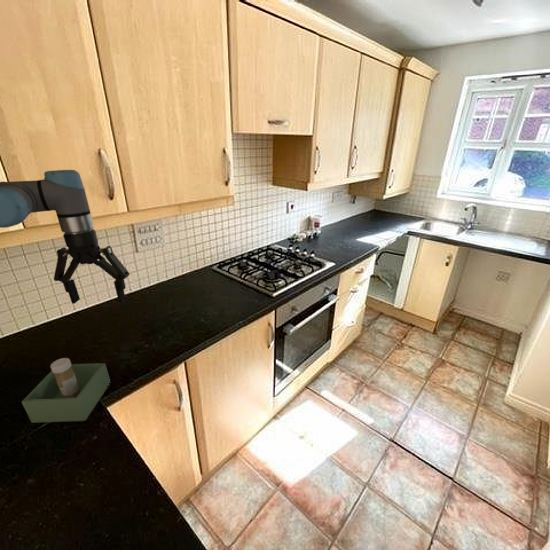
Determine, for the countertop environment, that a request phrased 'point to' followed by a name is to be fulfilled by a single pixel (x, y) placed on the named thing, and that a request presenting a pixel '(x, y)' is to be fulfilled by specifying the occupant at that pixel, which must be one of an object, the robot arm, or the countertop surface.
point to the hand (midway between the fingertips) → (99, 300)
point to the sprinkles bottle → (65, 378)
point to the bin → (54, 408)
